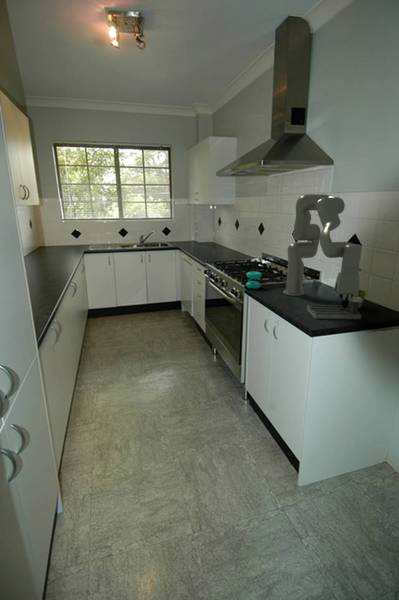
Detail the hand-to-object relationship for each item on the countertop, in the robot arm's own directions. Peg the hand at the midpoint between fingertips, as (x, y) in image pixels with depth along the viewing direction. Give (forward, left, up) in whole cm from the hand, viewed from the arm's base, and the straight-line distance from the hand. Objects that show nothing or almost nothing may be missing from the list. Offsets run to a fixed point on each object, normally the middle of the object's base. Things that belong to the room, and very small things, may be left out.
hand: (344, 307), depth 155 cm
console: (-4, -4, -5) cm, 7 cm away
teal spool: (-57, -37, -5) cm, 68 cm away
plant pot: (-17, +13, -5) cm, 22 cm away
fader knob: (0, +5, -3) cm, 6 cm away
